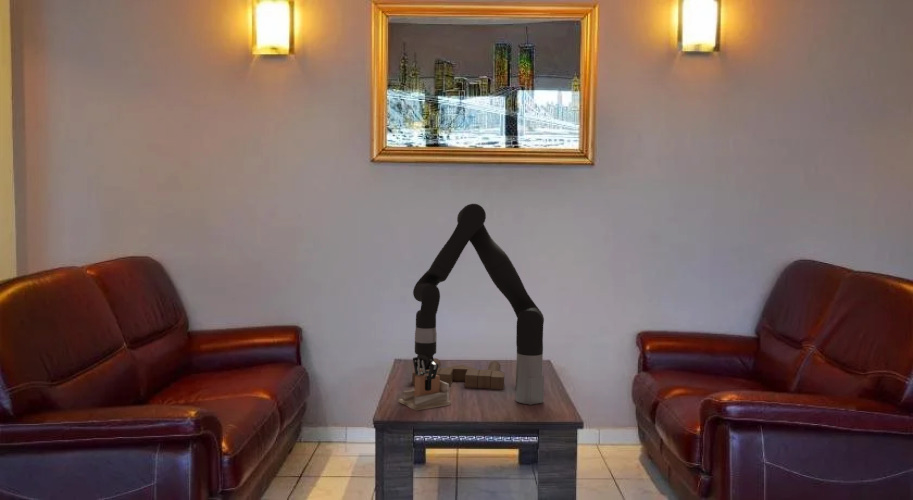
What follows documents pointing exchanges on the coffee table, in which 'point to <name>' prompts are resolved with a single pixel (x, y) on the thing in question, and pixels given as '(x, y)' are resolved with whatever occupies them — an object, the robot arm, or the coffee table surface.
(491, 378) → the brown segmented blocky figure
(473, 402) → the coffee table surface
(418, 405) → the birch slot rack
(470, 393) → the coffee table surface
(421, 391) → the rust book
